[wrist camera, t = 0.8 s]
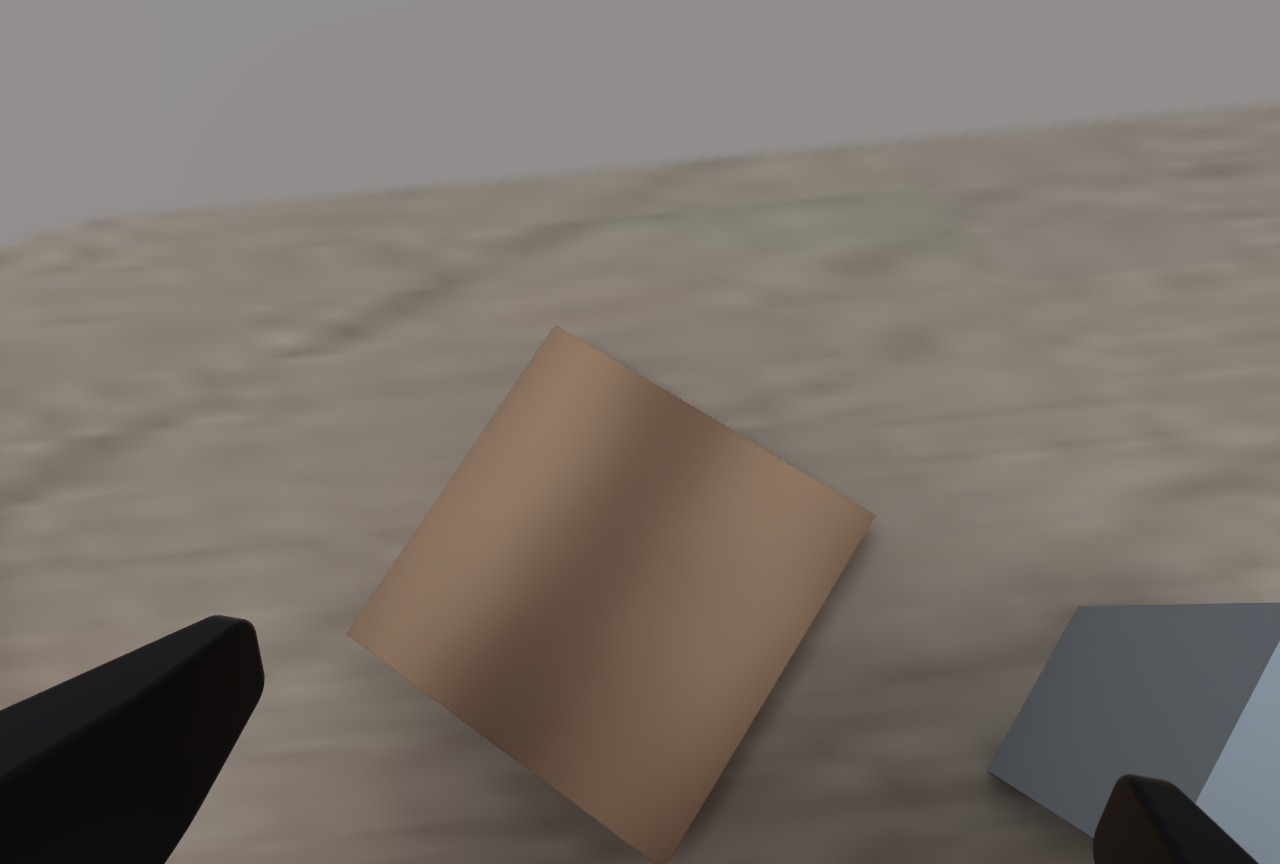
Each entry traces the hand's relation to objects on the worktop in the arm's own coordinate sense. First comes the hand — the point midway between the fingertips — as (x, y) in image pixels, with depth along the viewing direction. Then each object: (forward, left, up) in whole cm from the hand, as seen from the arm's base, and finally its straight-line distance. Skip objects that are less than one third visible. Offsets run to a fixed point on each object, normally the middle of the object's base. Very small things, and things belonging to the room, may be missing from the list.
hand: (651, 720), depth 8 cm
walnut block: (+3, 0, -15) cm, 16 cm away
